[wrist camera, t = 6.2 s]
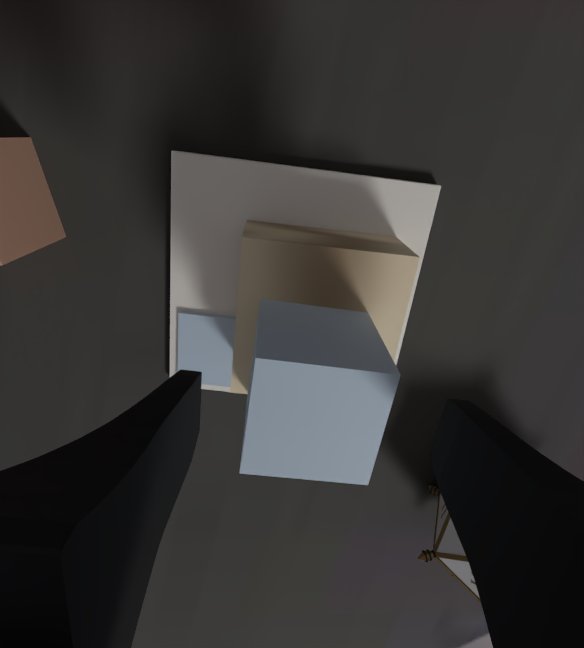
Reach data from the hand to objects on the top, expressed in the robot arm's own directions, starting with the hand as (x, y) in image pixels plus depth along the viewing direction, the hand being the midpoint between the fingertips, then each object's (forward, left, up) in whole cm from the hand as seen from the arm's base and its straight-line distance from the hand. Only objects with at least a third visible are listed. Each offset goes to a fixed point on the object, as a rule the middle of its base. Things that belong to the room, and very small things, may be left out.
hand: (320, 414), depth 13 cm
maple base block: (0, 0, -10) cm, 10 cm away
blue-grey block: (0, -1, -6) cm, 6 cm away
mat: (-1, 0, -10) cm, 10 cm away
